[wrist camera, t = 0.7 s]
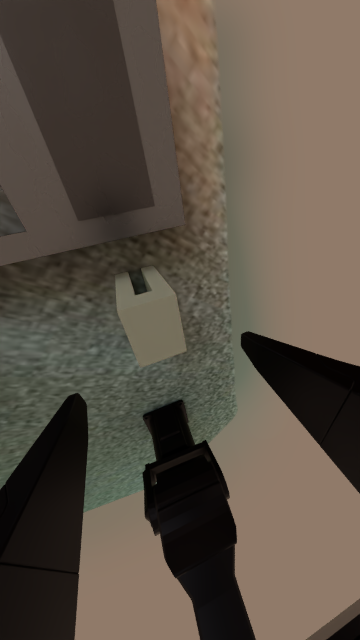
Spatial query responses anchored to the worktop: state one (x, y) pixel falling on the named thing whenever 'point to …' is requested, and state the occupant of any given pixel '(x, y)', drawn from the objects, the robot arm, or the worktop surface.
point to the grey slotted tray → (84, 125)
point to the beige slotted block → (150, 317)
